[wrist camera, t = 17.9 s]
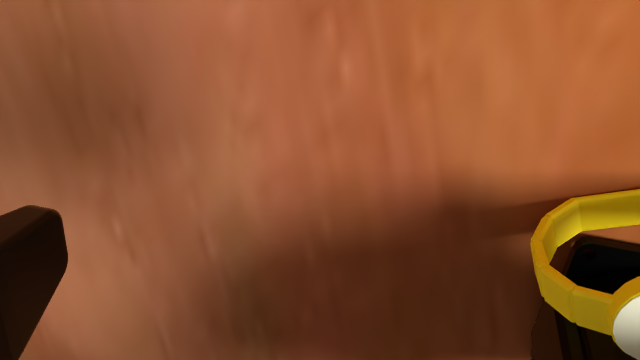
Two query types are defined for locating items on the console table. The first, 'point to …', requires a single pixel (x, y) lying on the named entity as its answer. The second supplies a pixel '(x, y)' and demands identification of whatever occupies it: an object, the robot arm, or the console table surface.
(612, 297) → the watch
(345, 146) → the console table surface
